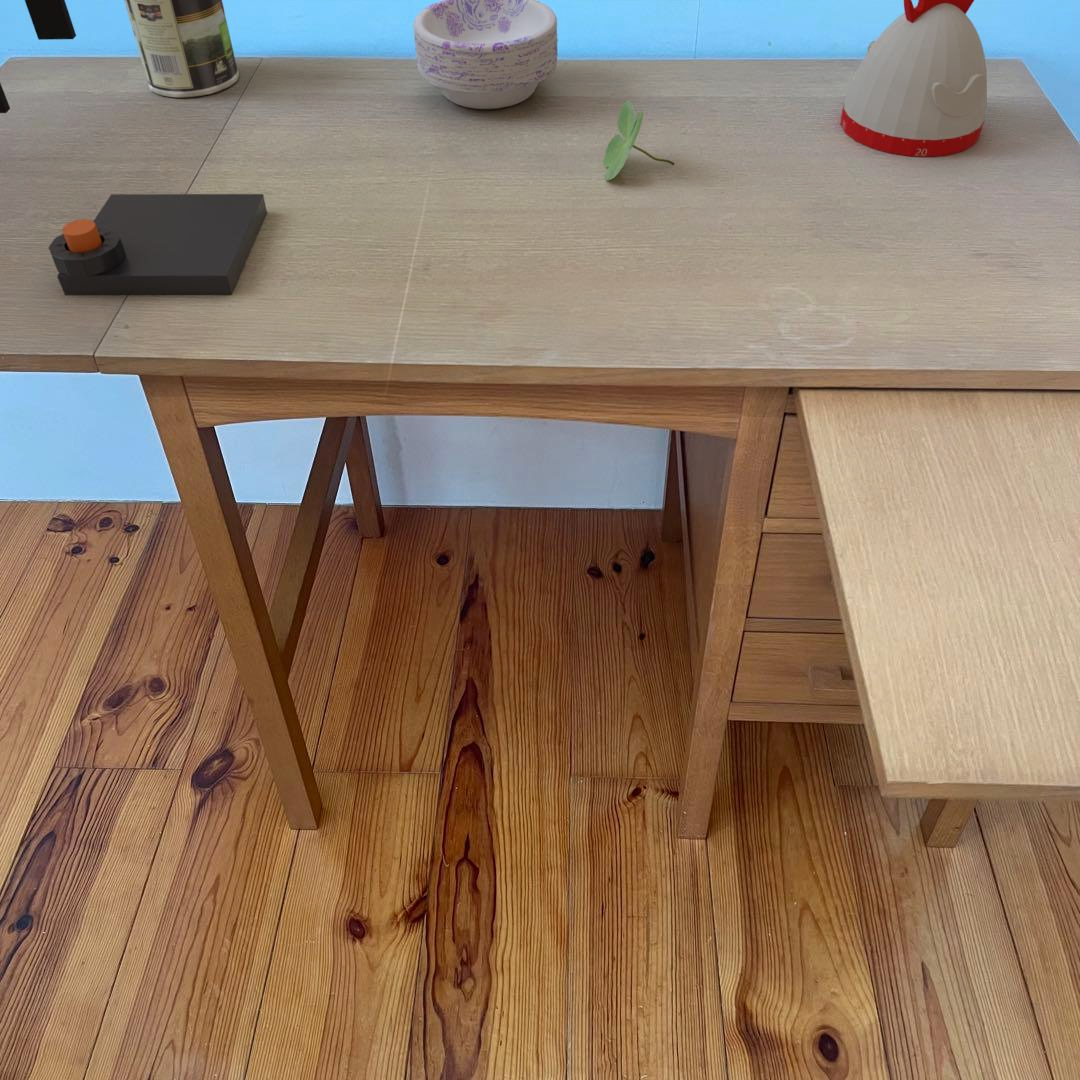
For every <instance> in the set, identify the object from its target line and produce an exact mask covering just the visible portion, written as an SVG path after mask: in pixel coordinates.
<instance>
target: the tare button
mask: <svg viewBox="0 0 1080 1080" xmlns="http://www.w3.org/2000/svg"><path fill="white" fill-rule="evenodd" d="M93 221H94V220H91V219H87V218H86V219H82V218H81V219H76V220H72V221H70V222H68V223H66V224H65V225H64V226H63V227H62V228H61V229H62V230H61V231H62V234H64V237H65V240H66V242H67V245H68V247H69V250H70V251H71V252H73V253H84V252H88V251H91V250H94V249H96V248H98V247H99V246H101V245H102V241H101V238H100V235H99V233H98V230H97V227H96V224H95V223H94V222H93Z"/></svg>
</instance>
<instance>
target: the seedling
mask: <svg viewBox="0 0 1080 1080" xmlns="http://www.w3.org/2000/svg"><path fill="white" fill-rule="evenodd" d="M643 117H644V109H640V111H639V112H638V115H637V117H636V114H635V110H634V106H633V103H632V101H630V100H627V101H626V102H624V104H622V106H621V108H620V111H619V114H618V117H617V126H618V130H619V133H620V134H621V135H620V134H615V135H614V136H613V137H612V138H611V139H610V141H609V143H608V144H607V147H606V149H605V153H604V154H605V155H604V157H603V166H604V167H605V168H607V169H606V171H605V173H604V178H605V181H611V180H612V179H614V178H615V177H616V176H617V175H618V174H619V173H620V171H621V170H622V168H624V165H625V164H626V161H627V159H628V156H629V154H630V150H632V148H633V149H635V150H638V151H640V152H642V153H643V154H644V155H646V156H648V157H649V158H651V159H652V160H654V161H656V162H657V161H658V162H665V163H668V164H671V165H672V166H674V165H675V162H673V161H672V160H670V159H664V158H658V157H655V156H654V155H651V154H650V153H649V152H647V151H646V150H645V149H642V148H641V147H639V146H637V145H635V143H636V140H637V137H638V134H639V132H640V129H641V126H642V123H643Z"/></svg>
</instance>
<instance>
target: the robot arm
mask: <svg viewBox="0 0 1080 1080" xmlns="http://www.w3.org/2000/svg"><path fill="white" fill-rule="evenodd" d="M24 3H25V5H26V8H27V11H28V14H29V17H30V19H31V22H32V25H33V28H34V31H35V34H36V37H37V39H38V40H39V41H40V40H42V41H43V40H44V41H45V40H46V41H49V40H74V39H75V38H76V37H77V33H76V30H75V28H74V27H75V26H74V24H73V21H72V18H71V15H70V12H69V9H68V6H67V3H66V0H24ZM10 109H11V107H10V103H9V102H8V99H7V96H6V94H5V91H4V88H3V86H2V83H1V82H0V114H7V113H8V112H9V111H10Z"/></svg>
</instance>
